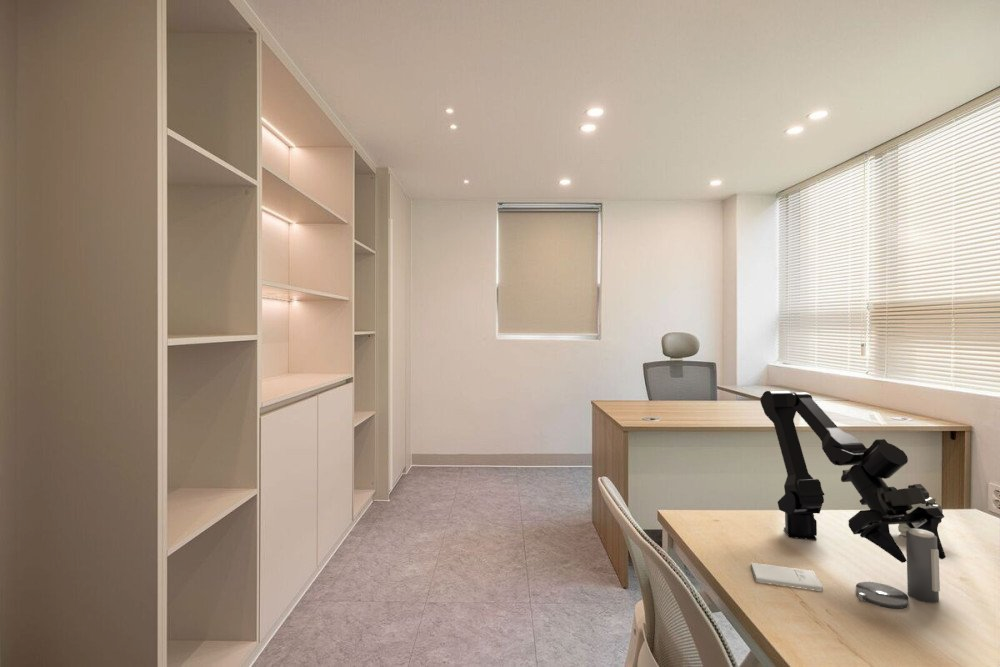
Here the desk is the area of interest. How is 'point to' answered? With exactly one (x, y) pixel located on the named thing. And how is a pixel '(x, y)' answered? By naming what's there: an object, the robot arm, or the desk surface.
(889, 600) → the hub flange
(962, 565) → the desk surface
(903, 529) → the pneumatic valve
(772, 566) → the external hard drive
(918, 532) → the dark gray cylinder
